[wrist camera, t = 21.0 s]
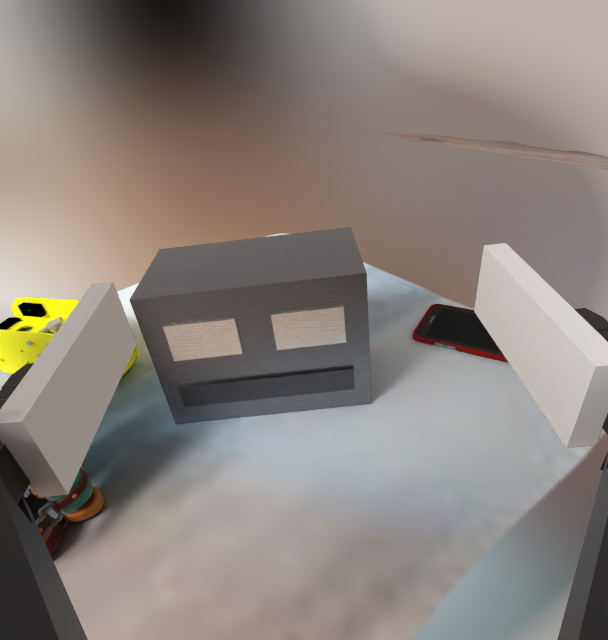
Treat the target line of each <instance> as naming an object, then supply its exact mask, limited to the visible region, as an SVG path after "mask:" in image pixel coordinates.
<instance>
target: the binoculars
mask: <svg viewBox="0 0 608 640" xmlns="http://www.w3.org/2000/svg"><path fill="white" fill-rule="evenodd" d="M83 470H84V468H83V467H80V470H79V472H78V474H77V476H76V478H75V481H74V483H73V485H72V487H71V489H70V492H69V494H68V495H58V496H47V497H39V496H38V494H37V493H36V491H35V490H34V489H33V487H32V486H31V484H29V487H31V489H29V492H30V495H29V496H28V497H27V498H25V497H24V496H23V498H24V499H25V501H26V502H27V503H28V505H29V508H30V510H31V504H32V503H33V502H34V501H35V499H47V500H48V503H47V504H45V505H44V506H43V507H42V508H40V509H39V511H38V515H39V516H40V517H39V518H38V520H36V523H37V526H38V528H39V530H40V533H41V535H42V537H43V539H44V542H45V544H46V546H47V549H48V551H49V553H50V555H51V556H52V554H53V553H54V552H55V550H56V548H57V547H58V545H59V543H60V540H61V538H62V534H63V528H64V527H65V526H66V525H67V524H68V521H70V522H78V521H82V520H85V519H88V518H90V517H92V516H93V515H95V514H96V513H97V512H99V511H100V509H101V508H102V506H103V504H104V497H103V496H102V494H101V493H100V491H99V490H98V489H97V488H96V487H94V486H92V484H91V482H90V480H89V479H88V477H87V474H86V473H85V472H84V471H83ZM50 505H51V508H52V509H53V510H54V511H55V512H56V513H58V517H57V519H56V520H55V519H54V518H53V517H51V516H50V515H49V514H48V513H47V512H43V513H42V511H43V510H44V509H45V508H47V507H48V506H50ZM61 515H62V516H63V518H62V520H61V521H60V522H58V521H59V519H60V517H61Z"/></svg>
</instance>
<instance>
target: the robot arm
mask: <svg viewBox="0 0 608 640" xmlns="http://www.w3.org/2000/svg"><path fill="white" fill-rule="evenodd" d="M474 312H475V313H476V315H477V316H478V318H479V319H480V321H481V322H482V324H483V325H484V327H485V328H486V330H487V331H488V333H489V334H490V336H491V337H492V339H493V340H494V341H495V343H496V344H497V346H498V347H499V349H500V350H501V352H502V353H503V355H504V356H505V358H506V359H507V361H508V362H509V364H510V365H511V367H512V368H513V370H514V371H515V373H516V374H517V376H518V377H519V378H520V380H521V381H522V383H523V384H524V386H525V387H526V389H527V390H528V392H529V393H530V395H531V396H532V398H533V399H534V401H535V402H536V404H537V405H538V407H539V408H540V410H541V411H542V413H543V414H544V415H545V417H546V418H547V420H548V421H549V423H550V424H551V426H552V427H553V429H554V430H555V432H556V433H557V435H558V436H559V438H560V439H561V441H562V442H563V444H564V445H565V447H566V448H574V447H584V446H595V445H597V442H598V440H599V437H600V435H601V432H602V430H603V429H604V431H605V432H606V433H607V434H608V322H607V320H605V319H604V318H603V317H602V316H600V315H598V314H596V313H594V312H592V311H590V310H588V309H586V308H581V309H573V308H572V307H571V306H570V305H569V304H568V303H567V302H566V301H565V300H564V299H563V298H562V297H561V296H560V295H559V294H558V293H557V292H556V291H555V290H554V289H552V287H550V285H548V284H547V283H546V282H545V281H544V280H543V279H542V278H541V277H540V276H539V275H538V274H537V273H536V272H535V271H534V270H533V269H532V268H531V267H530V266H529V265H528V264H527V263H526V262H525V261H524V260H523V259H522V258H521V257H520V256H519V255H517V254H516V253H515V252H514V251H513V250H512V249H511V248H510V247H509V246H508V245H507V244H506V243H503V244H493V245H484V249H483V255H482V262H481V269H480V276H479V282H478V289H477V296H476V302H475V309H474ZM135 346H136V342H135V339H134V336H133V334H132V331H131V328H130V326H129V323H128V320H127V318H126V315H125V312H124V310H123V307H122V304H121V302H120V299H119V296H118V294H117V291H116V288H115V286H114V283H113V282H112V283H101V284H92V285H91V286H90V288H89V289H88V290H87V292H86V293H85V295H84V296H83V297H82V299H81V300H80V301H79V303H78V304H77V305H76V307H75V308H74V310H73V311H72V312H71V314H70V315H69V316H68V318H67V319H66V320H65V322H64V323H63V325H62V326H61V327H60V329H59V330H58V331H57V333H56V334H55V335H54V337H53V338H52V340H51V341H50V342H49V344H48V345H47V346H46V348H45V349H44V350H43V352H42V353H41V355H40V356H39V357H38V359H37V360H36V361H35V363H27V364H25V365H24V366H23V367H22V368H20V369H19V370H18V371H16V372H15V373H14V374H12V375H11V376H10V378H9V379H8V380H7V382H6V383H5V384H4V385H3V387H2V388H1V389H2V390H1V391H0V640H87V637H86V635H85V633H84V630H83V628H82V626H81V624H80V621H79V619H78V617H77V615H76V612H75V610H74V608H73V605H72V603H71V601H70V599H69V596H68V594H67V592H66V589H65V587H64V585H63V583H62V580H61V578H60V576H59V574H58V571H57V569H56V567H55V564H54V562H53V560H52V558H51V555H50V553H49V551H48V549H47V546H46V544H45V542H44V539H43V537H42V535H41V533H40V530H39V528H38V526H37V523H36V521H35V519H34V517H33V514H32V512H31V510H30V508H29V505H28V503H27V502H26V501H25V499H24V498H23V495H24V493H25V491H26V489H27V488H28V486H29V484H31V486H32V487H33V489H34V490H35V491H36V493H37V494H38V496H39V497H47V496H58V495H68V494H69V492H70V489H71V487H72V485H73V483H74V481H75V478H76V476H77V474H78V472H79V470H80V467H81V465H82V463H83V461H84V459H85V456H86V454H87V452H88V450H89V448H90V445H91V443H92V441H93V439H94V437H95V434H96V432H97V430H98V428H99V426H100V423H101V421H102V419H103V417H104V415H105V412H106V410H107V408H108V406H109V404H110V401H111V399H112V397H113V395H114V393H115V390H116V388H117V386H118V384H119V382H120V379H121V377H122V375H123V373H124V371H125V368H126V366H127V364H128V362H129V360H130V357H131V355H132V353H133V351H134V349H135ZM601 470H603V473H602V477H601V481H600V484H599V488H598V492H597V495H596V499H595V503H594V507H593V510H592V514H591V518H590V522H589V525H588V529H587V532H586V536H585V540H584V544H583V547H582V551H581V555H580V558H579V562H578V566H577V570H576V573H575V577H574V581H573V584H572V588H571V592H570V596H569V599H568V603H567V607H566V610H565V614H564V618H563V622H562V625H561V629H560V633H559V637H558V640H608V453H607V455H606V457H605V460H604V462H603V464H602V467H601Z"/></svg>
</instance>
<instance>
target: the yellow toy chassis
mask: <svg viewBox="0 0 608 640" xmlns="http://www.w3.org/2000/svg"><path fill="white" fill-rule="evenodd" d="M25 301H27V302H31V303H24V302H25ZM79 301H80V300H64V299H45V298H26V297H17V298H16V300H15V301H14V303H13V305H12V306H11V311H12V312H13V314H14V316H15V317H14V318H8V319H6V320H5V321H4V322H2V323H1V324H0V368H1V370H2V372H6V373H15V372H16V371H18V370H19V369H20V368H22V367H23V366H24V365H25V364H27V363H35V361H36V360H37V359H38V357H39V356H40V355H41V353H42V352H43V350H44V349H45V348H46V346H47V345H48V344H49V342H50V341H51V340H52V338H53V337H54V335H55V334H56V333H57V331H58V330H59V329H60V327H61V326H62V325H63V323H64V322H65V320H66V319H67V318H68V316H69V315H70V314H71V312H72V311H73V310H74V308H75V307H76V305H77V304H78V303H79ZM34 308H35V309H34ZM140 357H141V356H140V354H139V351H138V349H137V346H135V349H134V351H133V353H132V355H131V357H130V360H129V362H128V364H127V366H126V368H125V371H124V373H123V375H124V374H125V373H126V372H127V371H128V370H129V368H130V367H131V366H132V365H133V363H134V360H135V358H140ZM123 375H122V376H123Z"/></svg>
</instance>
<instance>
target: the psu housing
mask: <svg viewBox="0 0 608 640" xmlns="http://www.w3.org/2000/svg"><path fill="white" fill-rule="evenodd" d="M130 302H131V305H132V308H133V310H134V313H135V316H136V318H137V321H138V324H139V326H140V329H141V332H142V335H143V337H144V340H145V343H146V345H147V348H148V351H149V353H150V356H151V359H152V361H153V364H154V367H155V369H156V372H157V375H158V377H159V380H160V383H161V385H162V388H163V391H164V393H165V396H166V399H167V402H168V404H169V407H170V410H171V412H172V415H173V418H174V420H175V423H176V424H181V423H190V422H200V421H209V420H219V419H228V418H238V417H247V416H257V415H266V414H276V413H285V412H295V411H304V410H314V409H323V408H333V407H342V406H352V405H362V404H371V382H370V356H369V329H368V302H367V276H366V270H365V267H364V264H363V261H362V259H361V256H360V253H359V250H358V247H357V244H356V241H355V238H354V235H353V232H352V229H351V227H347V228H339V229H330V230H322V231H313V232H304V233H296V234H287V235H279V236H270V237H262V238H253V239H245V240H236V241H227V242H219V243H210V244H202V245H193V246H185V247H177V248H168V249H160V250H159V251H158V253H157V255H156V256H155V258H154V260H153V261H152V263H151V265H150V267H149V268H148V270H147V271H146V273H145V275H144V276H143V278H142V280H141V282H140V283H139V285H138V287H137V288H136V290H135V292H134V293H133V295H132V297H131V298H130Z"/></svg>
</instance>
